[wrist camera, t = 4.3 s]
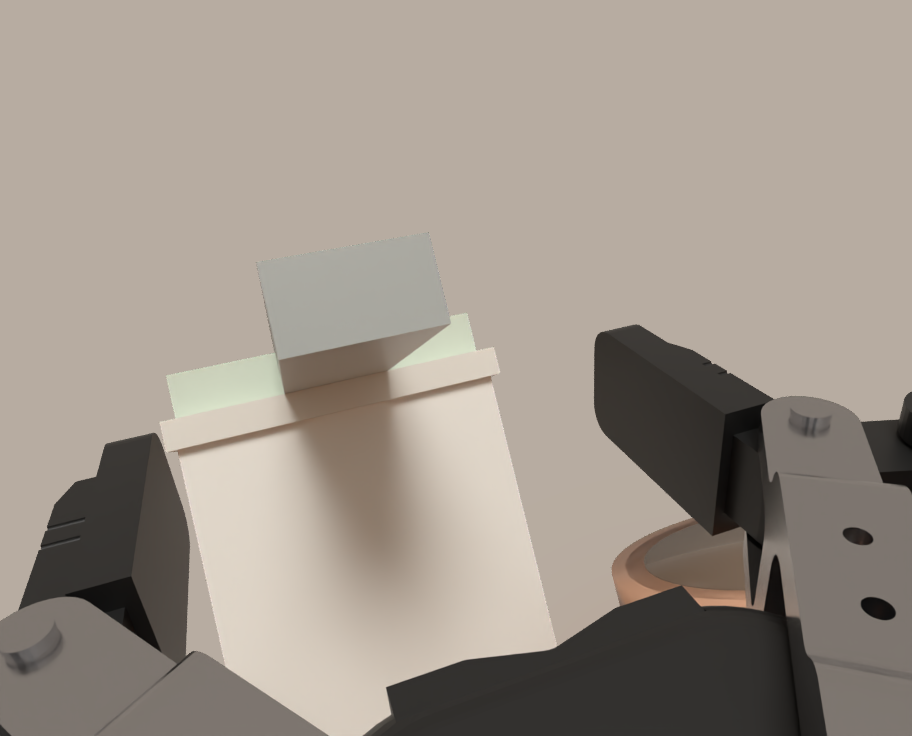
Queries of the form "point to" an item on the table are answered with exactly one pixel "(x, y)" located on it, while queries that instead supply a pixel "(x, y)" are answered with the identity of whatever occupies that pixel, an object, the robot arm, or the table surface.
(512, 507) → the upright grey panel box
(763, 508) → the robot arm
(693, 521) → the terracotta pot
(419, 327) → the cover
